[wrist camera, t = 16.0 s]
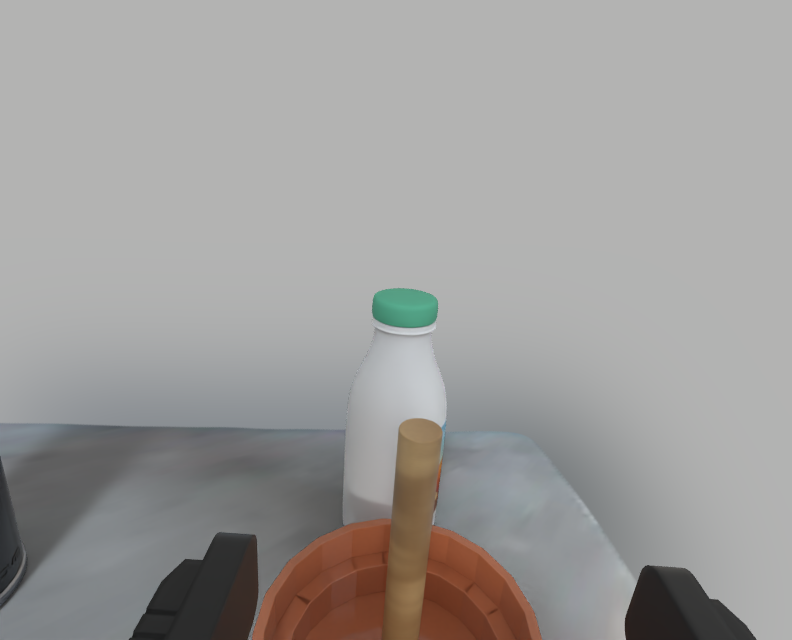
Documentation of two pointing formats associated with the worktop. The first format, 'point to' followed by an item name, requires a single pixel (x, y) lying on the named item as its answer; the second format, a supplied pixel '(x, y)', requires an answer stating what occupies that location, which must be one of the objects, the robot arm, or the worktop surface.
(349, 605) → the bowl
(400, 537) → the stirring stick
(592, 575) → the worktop surface
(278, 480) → the worktop surface
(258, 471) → the worktop surface
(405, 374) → the milk bottle
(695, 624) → the robot arm
